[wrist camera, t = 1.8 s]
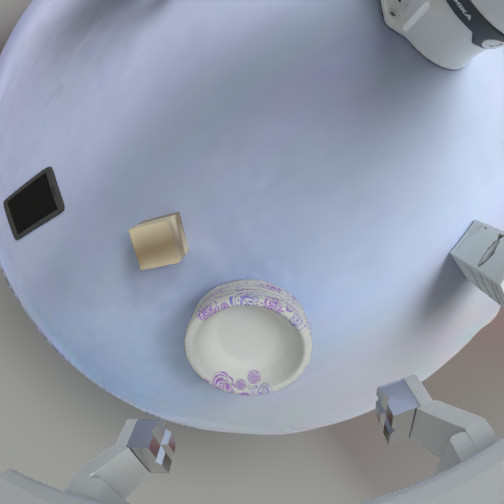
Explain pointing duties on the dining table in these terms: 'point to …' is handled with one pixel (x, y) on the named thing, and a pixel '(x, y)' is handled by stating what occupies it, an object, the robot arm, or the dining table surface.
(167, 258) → the maple block
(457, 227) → the dining table surface
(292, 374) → the paper bowls
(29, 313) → the dining table surface
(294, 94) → the dining table surface
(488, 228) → the supplement box
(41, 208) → the cell phone
